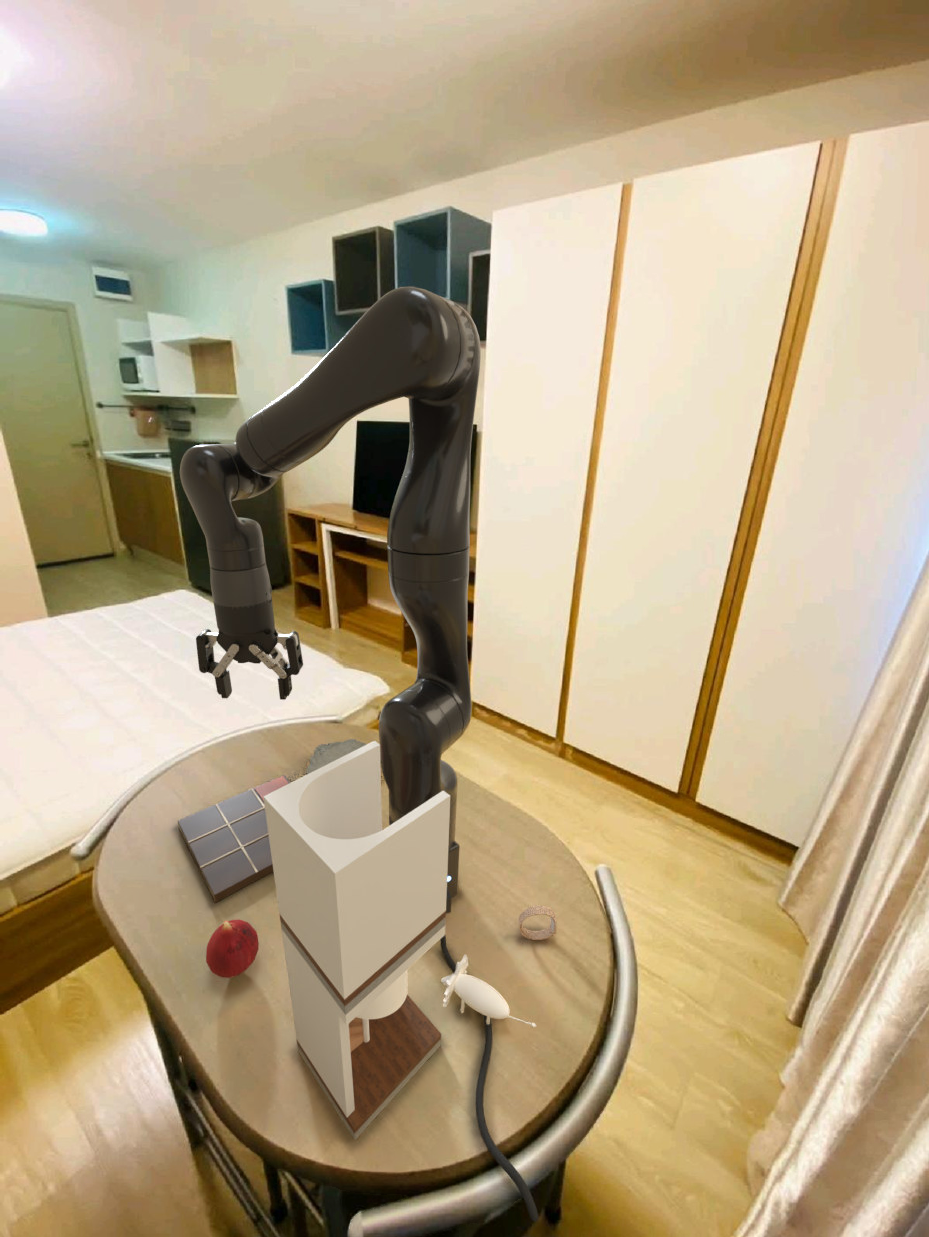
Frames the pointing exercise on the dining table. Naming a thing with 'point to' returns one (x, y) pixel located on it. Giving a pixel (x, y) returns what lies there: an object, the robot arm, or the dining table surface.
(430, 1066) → the dining table surface
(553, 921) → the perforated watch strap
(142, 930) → the dining table surface
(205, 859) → the grid board
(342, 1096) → the white wooden tower stand
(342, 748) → the rock
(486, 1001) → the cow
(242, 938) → the onion
